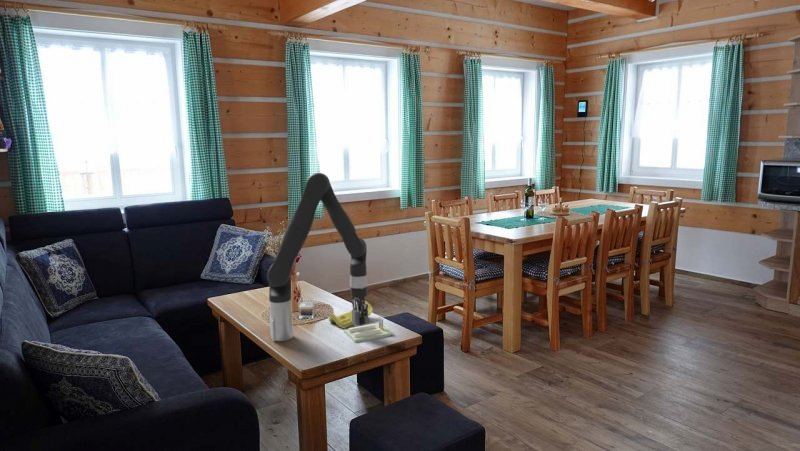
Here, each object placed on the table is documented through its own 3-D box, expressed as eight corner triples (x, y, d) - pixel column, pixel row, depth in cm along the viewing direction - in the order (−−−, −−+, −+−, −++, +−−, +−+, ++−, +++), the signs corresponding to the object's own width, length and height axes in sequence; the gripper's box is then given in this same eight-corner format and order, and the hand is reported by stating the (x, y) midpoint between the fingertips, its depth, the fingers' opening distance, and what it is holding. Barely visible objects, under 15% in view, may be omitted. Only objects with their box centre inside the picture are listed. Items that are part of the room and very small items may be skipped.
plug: (355, 326, 234) (355, 312, 233) (352, 323, 238) (351, 309, 237) (368, 323, 237) (367, 309, 236) (364, 320, 240) (364, 307, 239)
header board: (354, 342, 230) (354, 328, 229) (344, 332, 242) (343, 319, 241) (393, 335, 238) (393, 321, 237) (381, 325, 250) (381, 312, 248)
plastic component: (342, 324, 245) (330, 311, 251) (339, 336, 249) (327, 322, 255) (376, 311, 258) (364, 298, 263) (373, 323, 261) (361, 310, 267)
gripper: (344, 282, 239) (346, 319, 242) (356, 290, 226) (358, 329, 229) (360, 279, 242) (362, 316, 245) (373, 287, 230) (374, 326, 233)
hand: (360, 322), depth 237 cm, fingers closed on plug, 4 cm apart
